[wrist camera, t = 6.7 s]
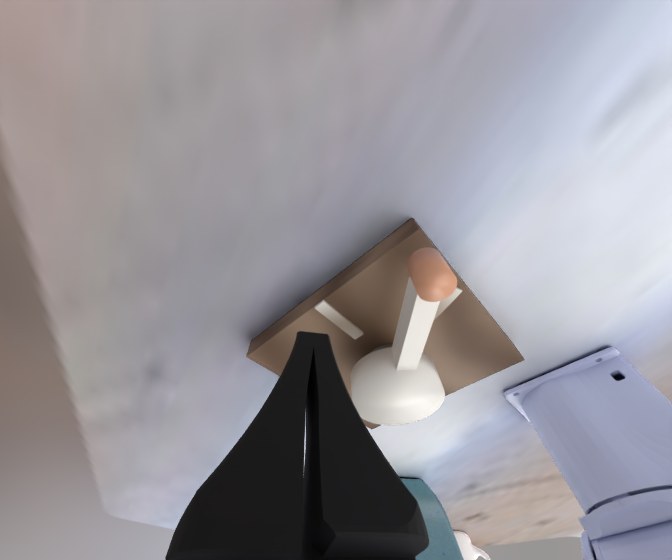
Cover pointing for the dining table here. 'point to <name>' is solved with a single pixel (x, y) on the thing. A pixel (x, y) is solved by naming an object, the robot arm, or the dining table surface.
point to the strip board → (390, 319)
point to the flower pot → (434, 524)
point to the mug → (468, 547)
